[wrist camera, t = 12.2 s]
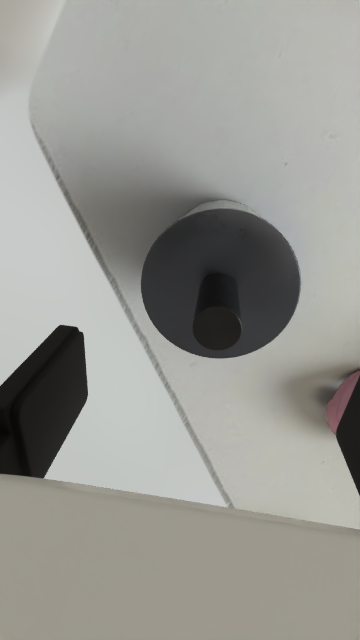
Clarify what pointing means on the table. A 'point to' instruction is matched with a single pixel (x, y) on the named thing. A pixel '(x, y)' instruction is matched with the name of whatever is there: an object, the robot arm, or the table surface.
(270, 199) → the table surface
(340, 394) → the video game controller
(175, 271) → the lid
